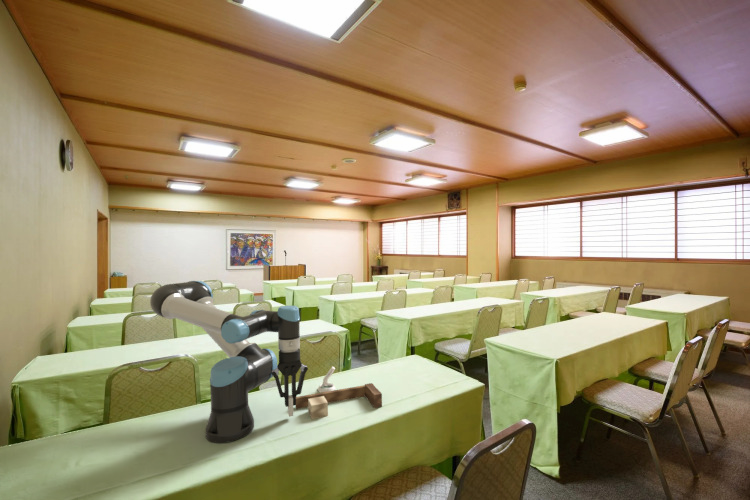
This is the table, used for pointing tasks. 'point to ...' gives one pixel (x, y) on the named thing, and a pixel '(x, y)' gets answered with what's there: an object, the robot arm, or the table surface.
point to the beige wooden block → (317, 407)
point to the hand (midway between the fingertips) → (290, 414)
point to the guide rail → (345, 395)
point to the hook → (326, 383)
